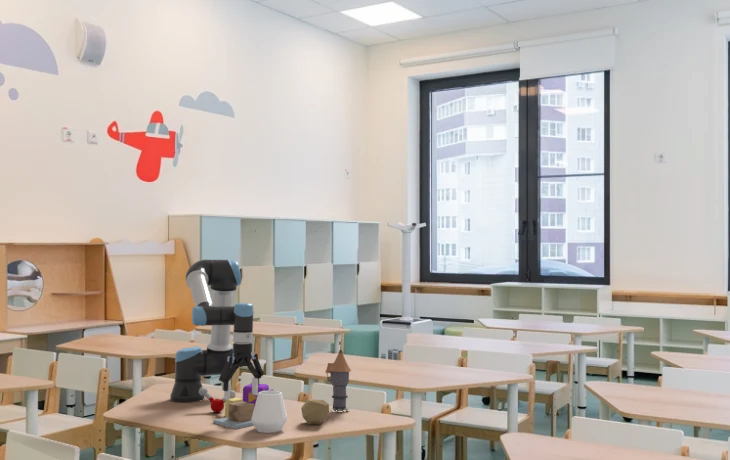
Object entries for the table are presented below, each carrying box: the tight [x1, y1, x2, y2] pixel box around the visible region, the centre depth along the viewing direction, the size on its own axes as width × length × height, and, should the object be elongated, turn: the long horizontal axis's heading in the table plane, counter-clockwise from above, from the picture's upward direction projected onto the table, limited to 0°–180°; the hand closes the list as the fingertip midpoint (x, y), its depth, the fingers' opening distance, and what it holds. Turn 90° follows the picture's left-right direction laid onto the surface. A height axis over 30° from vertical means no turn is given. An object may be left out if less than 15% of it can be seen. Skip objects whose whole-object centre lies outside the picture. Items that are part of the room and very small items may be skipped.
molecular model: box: [199, 386, 237, 413], centre depth 294 cm, size 18×6×10 cm, turn 67°
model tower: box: [325, 341, 352, 411], centre depth 302 cm, size 10×11×30 cm
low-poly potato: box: [300, 398, 330, 425], centre depth 277 cm, size 15×11×12 cm
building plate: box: [212, 417, 254, 430], centre depth 276 cm, size 14×16×1 cm
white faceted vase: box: [251, 390, 288, 434], centre depth 265 cm, size 13×13×14 cm
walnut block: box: [228, 402, 254, 422], centre depth 276 cm, size 7×7×6 cm
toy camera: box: [242, 381, 275, 407], centre depth 307 cm, size 11×14×10 cm
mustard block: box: [224, 397, 243, 418], centre depth 287 cm, size 5×5×7 cm
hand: (241, 396), depth 277 cm, fingers open, 13 cm apart
